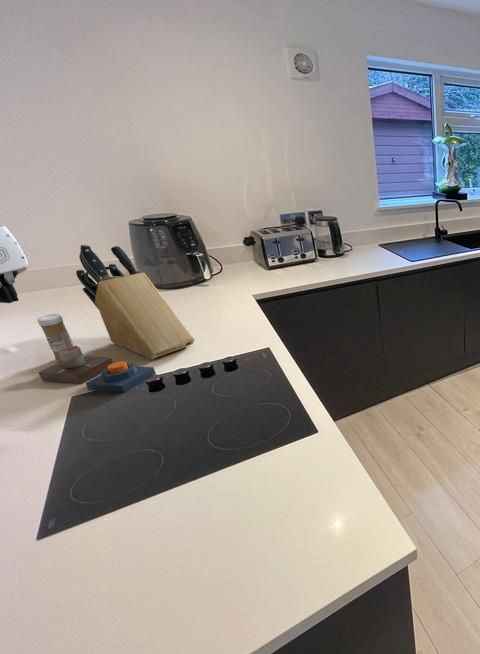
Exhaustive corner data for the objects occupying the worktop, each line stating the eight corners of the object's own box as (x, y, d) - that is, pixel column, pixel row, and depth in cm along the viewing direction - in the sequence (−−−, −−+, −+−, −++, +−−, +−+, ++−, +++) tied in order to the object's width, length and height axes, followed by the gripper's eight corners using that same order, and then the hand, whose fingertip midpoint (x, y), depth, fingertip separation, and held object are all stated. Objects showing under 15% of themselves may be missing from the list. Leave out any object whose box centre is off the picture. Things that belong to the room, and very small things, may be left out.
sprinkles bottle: (51, 362, 114) (31, 320, 109) (65, 354, 118) (46, 313, 113) (70, 361, 115) (51, 319, 110) (83, 353, 119) (65, 313, 114)
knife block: (139, 323, 139) (107, 236, 127) (198, 347, 125) (168, 251, 113) (97, 336, 129) (58, 243, 117) (155, 363, 115) (118, 261, 103)
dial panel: (42, 381, 106) (37, 371, 105) (79, 364, 114) (74, 354, 113) (80, 384, 105) (76, 374, 104) (114, 366, 113) (110, 357, 112)
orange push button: (105, 373, 104) (103, 367, 103) (119, 366, 107) (117, 360, 107) (118, 374, 104) (116, 368, 103) (131, 367, 107) (129, 361, 106)
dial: (74, 368, 106) (67, 353, 105) (60, 367, 107) (53, 352, 105) (90, 361, 110) (83, 345, 108) (76, 360, 110) (69, 345, 109)
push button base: (88, 390, 103) (82, 377, 101) (122, 371, 111) (117, 359, 110) (124, 393, 102) (119, 379, 101) (156, 374, 111) (151, 361, 109)
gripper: (-64, 231, 78) (-19, 315, 85) (27, 217, 92) (59, 291, 99) (-98, 229, 79) (-50, 313, 86) (-3, 215, 92) (32, 289, 100)
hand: (8, 301), depth 92 cm, fingers closed
